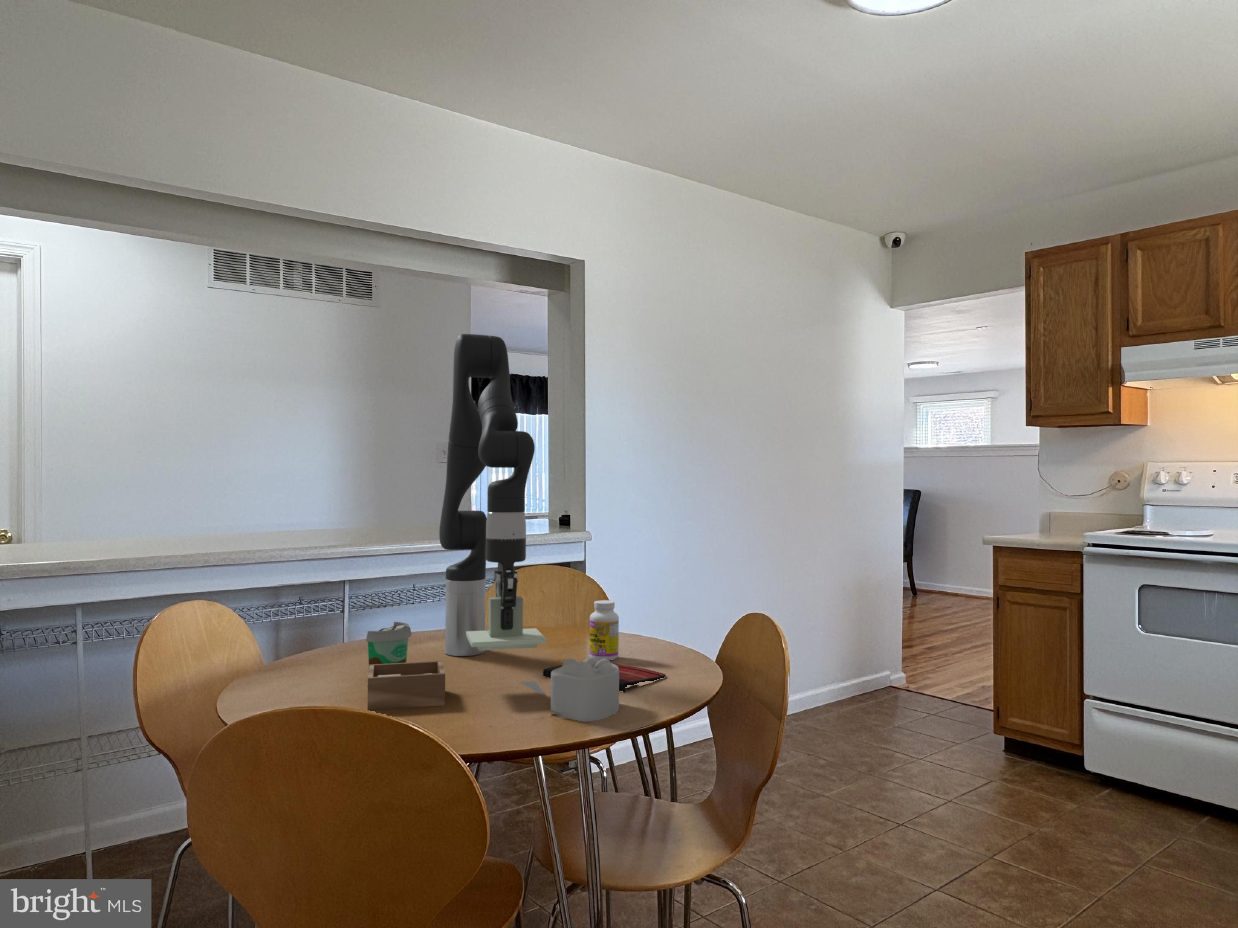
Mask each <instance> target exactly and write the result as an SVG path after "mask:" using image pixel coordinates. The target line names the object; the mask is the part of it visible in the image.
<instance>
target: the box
mask: <svg viewBox="0 0 1238 928" xmlns="http://www.w3.org/2000/svg"><path fill="white" fill-rule="evenodd" d="M428 673H432V674H428ZM395 674H401V676H384V677H378V675H395ZM439 706H446V672H445V668H444V664H443V661H442V660H434V661H433V660H431V661H429V660H428V661H412V662H410V661H409V662H406V663H391V664H372V665H370V666H369V665H368V676H367V711H378V710H379V711H380V710H381V711H382V710H396V709H408V708H409V709H410V708H423V707H424V708H426V707H439Z"/></svg>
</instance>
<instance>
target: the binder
mask: <svg viewBox="0 0 1238 928" xmlns="http://www.w3.org/2000/svg"><path fill="white" fill-rule="evenodd" d="M611 663H612V664H615V665H616V666H618V668H619V692H620V691H623V692H622V693H626V688H625V687H627V685H634V684H637V683H639V682H645V681H654V680H657V679H660V678H664V677H665V676H666V677H667V675H666V674H665V673H663V672H659V671H655V670H650V669H647V668H642V667H636V666H632V665H627V664H626V665H625V664H619V663H613V662H611ZM562 665H563V664H561V665H556V666H550V667H546V668H544V669H543V670H542V676H546V677H545V678H548V677H549V679H551V672H552V671H553V670H555V669H558V668H560V667H562ZM664 679H665V678H664Z"/></svg>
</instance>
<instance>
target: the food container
mask: <svg viewBox="0 0 1238 928" xmlns="http://www.w3.org/2000/svg"><path fill="white" fill-rule="evenodd" d="M411 629H412V628H411V627H410V624H409V623H407V622H403V621H394V622H393V626H390V627H386V628H385V627H383V628H381V629H379V630H367V634H366V639H365V642H366V643H367V653H368V655H367V656H368V667H369V666H370V665H372V664H391V663H407V655H408V646H409V645H408V643H409V638H410V637H411V636H412V631H411Z"/></svg>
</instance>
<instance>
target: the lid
mask: <svg viewBox="0 0 1238 928" xmlns="http://www.w3.org/2000/svg"><path fill="white" fill-rule="evenodd" d="M505 601H511V597H506V598H505ZM523 602H524V598H523V597H522V596H519V595H516V606H515V607H514V609H513V628H512V629H511V630H502V629H501V609H500V597H496V596H488V629H487V630H486V629H485V631H466V636H467V638H468V640H469V642H470V644H471V646H472V647H478V649H479V651H481V650H485V651H495V650H496V651H497V650H499V651H500V650H516V649H520V650H521V649H535V648H536V649H537V648H538V644H542V645H543V644H547V640H548V639H547V638H546V637H545V636H544V635H543V633H541V632H540V631H539V630H538V628H536V627H534V628H524V627H523V626H524V625H523V624H524V621H523V620H524V617H523V616H524V614H523V613H524V608H523V607H524V606H523V605H524V603H523Z"/></svg>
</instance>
